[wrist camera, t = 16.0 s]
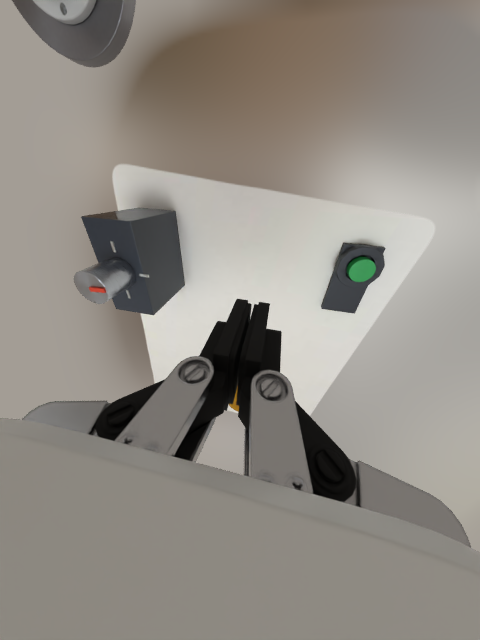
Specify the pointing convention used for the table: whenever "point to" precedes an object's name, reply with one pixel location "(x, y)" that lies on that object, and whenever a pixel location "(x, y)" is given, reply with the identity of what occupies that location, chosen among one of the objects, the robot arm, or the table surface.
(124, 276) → the program dial
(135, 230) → the dial panel
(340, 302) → the button block
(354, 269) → the button
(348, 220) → the table surface
